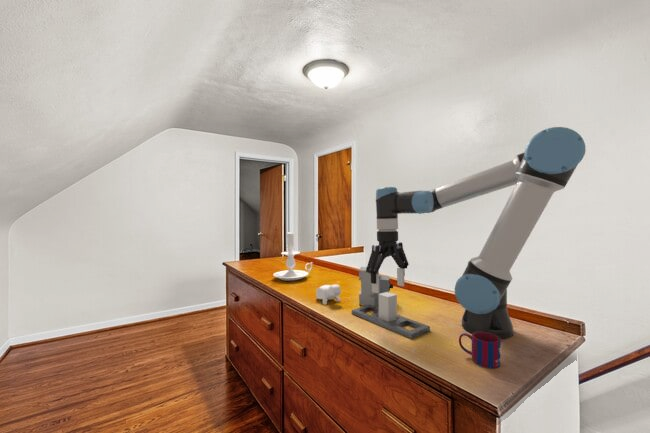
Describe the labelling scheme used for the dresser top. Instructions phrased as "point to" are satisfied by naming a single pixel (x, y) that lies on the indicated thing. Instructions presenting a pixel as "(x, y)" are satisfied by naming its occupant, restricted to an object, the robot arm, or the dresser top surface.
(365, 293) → the circuit breaker
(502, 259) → the robot arm
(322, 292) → the white animal figurine
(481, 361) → the mug
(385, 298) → the peg
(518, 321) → the dresser top surface
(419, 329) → the board with rectangular holes
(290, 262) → the candlestick
